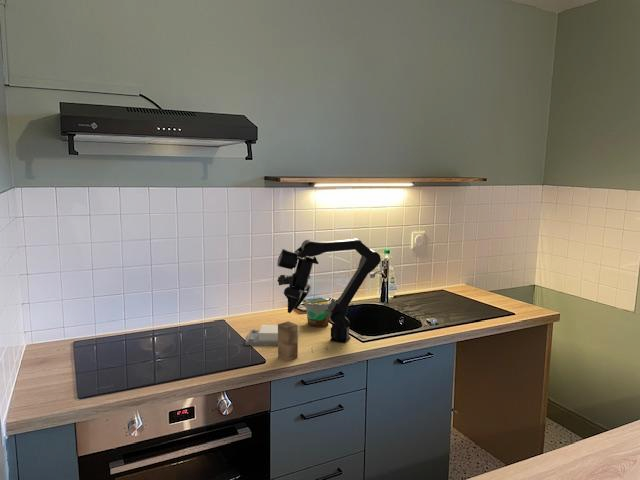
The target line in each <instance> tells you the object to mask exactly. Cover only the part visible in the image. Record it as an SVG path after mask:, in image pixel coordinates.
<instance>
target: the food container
mask: <svg viewBox="0 0 640 480" xmlns="http://www.w3.org/2000/svg"><path fill="white" fill-rule="evenodd" d="M304 303H305V304H304V308H305V309H306V319H307V325H308V326H309V327H313V328H324V327H328V326H329V322H330V321H329V320H330V318H329V316H328V315H327V310H328V308H327V307H328V306H329V305H330V303H327V304H324V303H321V302H311V301H310V302H309V301H308V299H307V300H306V301H305V302H304Z"/></svg>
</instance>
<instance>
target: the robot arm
mask: <svg viewBox="0 0 640 480" xmlns="http://www.w3.org/2000/svg"><path fill="white" fill-rule="evenodd" d="M354 250H355V251H356V253H358V254H359V255H360V259H359V263H358V266H357V269H356V271H355V272H354V274H353V275H352V277H351V278H350V281H349V282H348V283H347V285H346V287H345V288H344V290H343V291H342V293H341V295H340V296H339V297H338V298H337V299H336V300H335V299H333V298H332V300H331V302H330V303H329V304H330V305H329V306H328V307H327V308H328V310H327V315H328V316H329V320H330V321H331V322H332V324H331V327H330V339H329V340H330V341H331V342H337V343H344V344H345V343H347V342H348V341H349V340H350V339H351V335H350V325H351V321H350V320H349V319H348V317H346V315H347V314H348V309H349V305H350V303H351V301H352V300H353V299H354V297H355V295H356V294H357V292H358V291H359V289H360V287H361V286H362V284H363V283H364V281H365V279H366V278H367V276H368V275H369V274H370V273H371V272H373V271H374V270H375V269H376V268H377V267H378V266H379V265H380V263H381V260H382V258H381V254H380V253H378V252H376V251H375V250H373V249H370V248H369V247H368V246H367V245H365V244H364V243H363V242H362V240H360V239H358V238H356V237H355V238H352V239H351V238H350V239H349V238H348V239H339V240H328V241H327V240H326V241H324V240H316V239H305V240H303V242H301V245H300V246H299V247H298V248H297V249H296V250H295V251H291V250H287V249H285V248H282V249H281V252H280V254H279V256H278V258H277V263H276V265H277V267H279V268H284V269H288V270H293V269H295V272H293V273H292V275H286V274H280V275H279V276H278V278H277V283H278V286H283V285H285V286H286V285H288V286H287V287H286V288H284V290H283V295H284V296H285V297H286V299H287V313H289V314H291V313H292V312H293V310H294V309H295V310H297V309H298V308H299V306H300V305H301V304H302V302H303V301H304V300H305V299H306V297H308V296H309V294H310V292H311V289H312V287H311V285H310V284H309V283H308V282H309V280H310V279H311V271H312V268H313V265H319V261H318V259H317V257H316V256H319V255H322V254H326V253H330V252H340V251H341V252H342V251H354Z"/></svg>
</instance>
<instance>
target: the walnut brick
mask: <svg viewBox="0 0 640 480" xmlns="http://www.w3.org/2000/svg"><path fill="white" fill-rule="evenodd" d="M277 325H278V345H277V352H278V353H277V358H278V359H280V360H283V361H285V362H290V361H292V360H295V359H298V358H299V356H298V355H299V354H298V351H299V349H298V348H299V347H298V342H299V337H298V330H299V329H298V328H299V327H298V324H297V323H295V322H292V321H290V320H289V321H285V322H281V323H277Z"/></svg>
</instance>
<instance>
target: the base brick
mask: <svg viewBox="0 0 640 480" xmlns="http://www.w3.org/2000/svg"><path fill="white" fill-rule="evenodd" d="M299 336H300V330H299V329H298V338H300V337H299ZM244 344H245V346H278V324H261V326H260V329H256V328H254V329H251V330H250V331H249V333H248V335H247V338H246V340H245V343H244Z"/></svg>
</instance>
